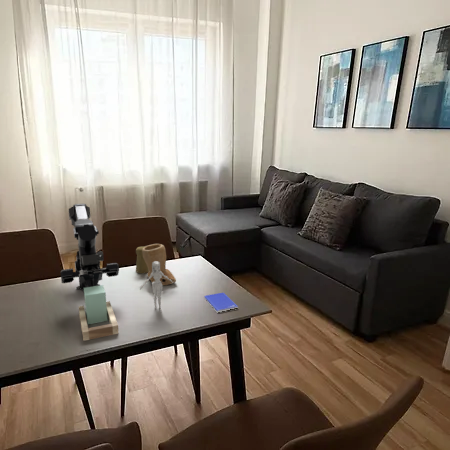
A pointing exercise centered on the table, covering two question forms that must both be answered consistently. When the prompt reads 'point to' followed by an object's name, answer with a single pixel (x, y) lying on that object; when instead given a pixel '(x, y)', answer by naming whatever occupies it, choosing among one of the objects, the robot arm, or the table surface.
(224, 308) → the hard drive
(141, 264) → the cork
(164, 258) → the tan hollow piece
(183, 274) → the table surface
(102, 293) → the sage block
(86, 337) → the chute
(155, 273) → the human figurine
